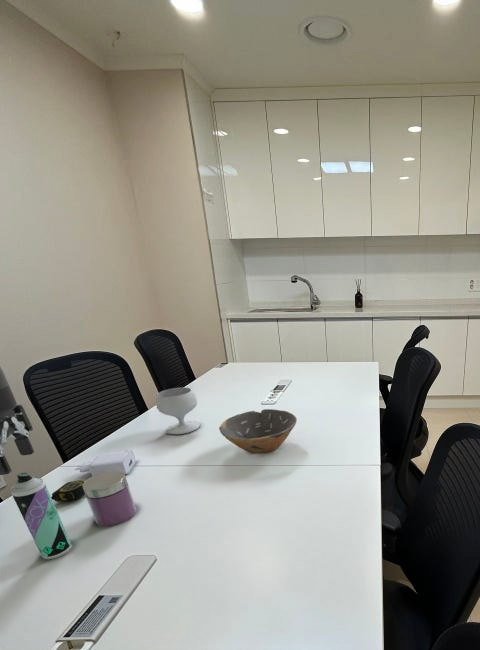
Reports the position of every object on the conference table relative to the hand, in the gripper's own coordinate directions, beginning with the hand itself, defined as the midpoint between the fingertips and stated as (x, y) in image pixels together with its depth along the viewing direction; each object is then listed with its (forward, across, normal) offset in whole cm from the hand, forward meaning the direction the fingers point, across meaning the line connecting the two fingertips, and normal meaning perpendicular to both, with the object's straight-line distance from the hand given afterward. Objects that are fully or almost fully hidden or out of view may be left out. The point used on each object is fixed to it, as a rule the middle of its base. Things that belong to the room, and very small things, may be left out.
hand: (16, 463), depth 79 cm
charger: (+23, -38, -2) cm, 44 cm away
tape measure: (+23, -24, -6) cm, 34 cm away
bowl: (+23, -39, +46) cm, 64 cm away
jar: (+22, -11, +9) cm, 27 cm away
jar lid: (+12, -11, +9) cm, 19 cm away
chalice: (+23, -67, +16) cm, 72 cm away
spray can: (+23, 0, 0) cm, 23 cm away
